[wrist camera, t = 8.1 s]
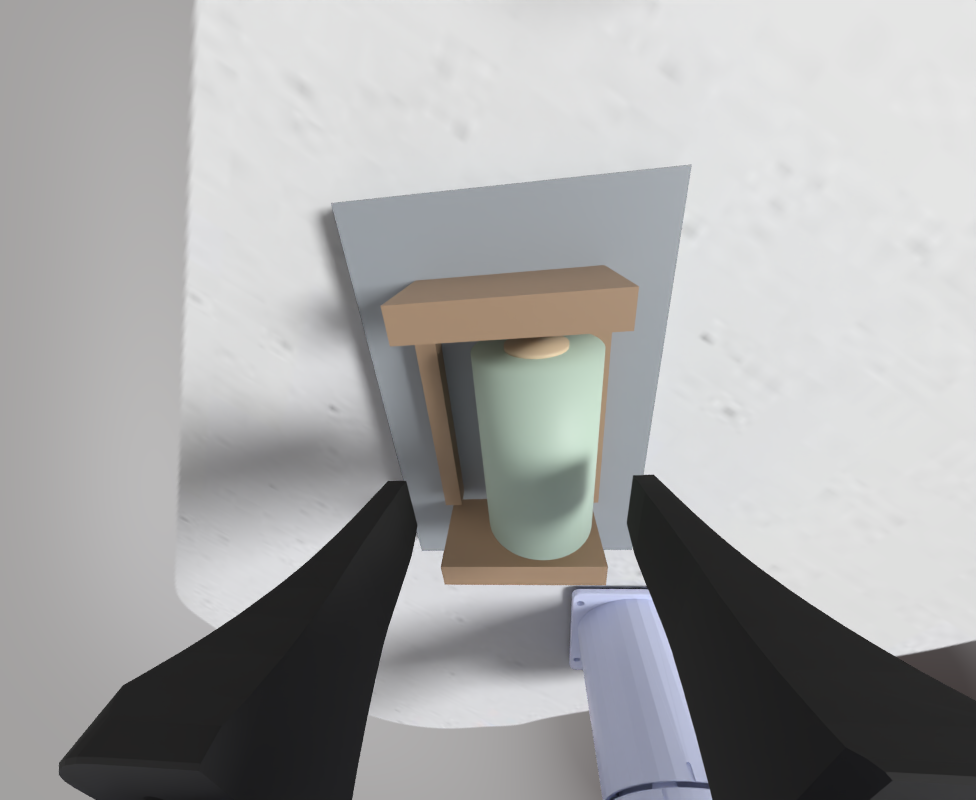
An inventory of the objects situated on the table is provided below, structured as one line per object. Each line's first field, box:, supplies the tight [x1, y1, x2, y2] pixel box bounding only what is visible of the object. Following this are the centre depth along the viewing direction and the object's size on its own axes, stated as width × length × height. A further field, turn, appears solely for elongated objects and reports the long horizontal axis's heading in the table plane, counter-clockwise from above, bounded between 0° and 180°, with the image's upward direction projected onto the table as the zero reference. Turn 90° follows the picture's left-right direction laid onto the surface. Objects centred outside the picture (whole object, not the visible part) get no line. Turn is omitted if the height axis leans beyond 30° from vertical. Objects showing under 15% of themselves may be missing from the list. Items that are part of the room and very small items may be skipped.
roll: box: [471, 334, 605, 560], centre depth 14 cm, size 8×4×4 cm, turn 5°
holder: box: [331, 165, 691, 585], centre depth 15 cm, size 18×12×5 cm, turn 5°
